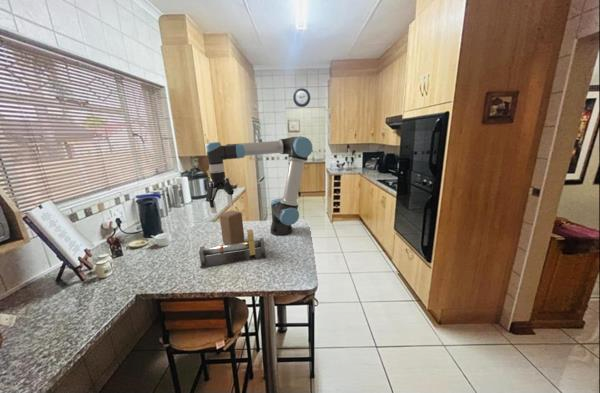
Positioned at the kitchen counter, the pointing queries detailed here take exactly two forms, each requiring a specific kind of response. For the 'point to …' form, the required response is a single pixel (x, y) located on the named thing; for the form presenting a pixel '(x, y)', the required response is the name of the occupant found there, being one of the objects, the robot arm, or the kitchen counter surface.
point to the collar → (251, 242)
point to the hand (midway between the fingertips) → (222, 209)
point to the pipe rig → (232, 256)
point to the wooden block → (232, 227)
